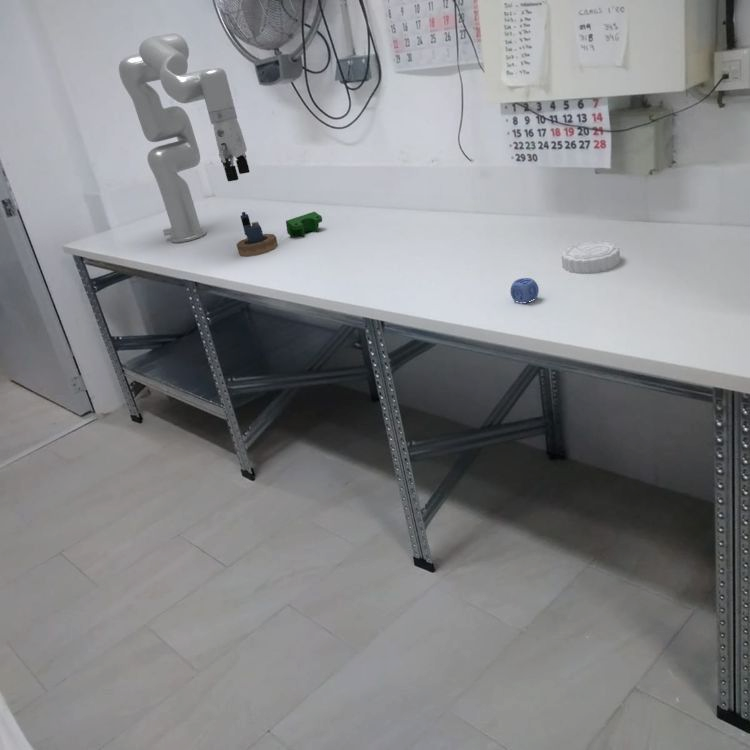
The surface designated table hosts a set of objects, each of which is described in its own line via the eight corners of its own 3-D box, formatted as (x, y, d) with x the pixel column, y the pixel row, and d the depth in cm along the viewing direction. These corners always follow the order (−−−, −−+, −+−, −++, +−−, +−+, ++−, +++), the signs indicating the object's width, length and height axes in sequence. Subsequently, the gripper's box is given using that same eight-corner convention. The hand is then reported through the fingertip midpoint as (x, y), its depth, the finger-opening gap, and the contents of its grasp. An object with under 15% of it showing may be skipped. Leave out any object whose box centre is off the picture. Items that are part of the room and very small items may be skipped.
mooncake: (630, 265, 154) (630, 248, 153) (577, 279, 153) (576, 262, 152) (603, 251, 165) (602, 236, 164) (553, 264, 164) (552, 248, 162)
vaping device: (249, 251, 225) (238, 212, 220) (265, 246, 226) (255, 208, 221) (250, 252, 223) (239, 214, 218) (267, 248, 224) (257, 209, 219)
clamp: (302, 249, 231) (290, 230, 225) (294, 243, 235) (281, 224, 228) (329, 227, 232) (317, 207, 226) (320, 221, 236) (308, 201, 230)
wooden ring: (233, 258, 221) (231, 248, 219) (246, 246, 231) (244, 237, 230) (270, 253, 218) (268, 243, 217) (282, 241, 228) (279, 232, 227)
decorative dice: (524, 295, 150) (522, 276, 148) (539, 298, 147) (538, 279, 145) (511, 301, 148) (509, 283, 147) (526, 305, 145) (524, 286, 143)
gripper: (224, 118, 199) (241, 181, 207) (245, 109, 214) (260, 168, 222) (199, 123, 201) (216, 185, 208) (221, 113, 216) (237, 172, 224)
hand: (239, 176), depth 215 cm, fingers open, 9 cm apart
